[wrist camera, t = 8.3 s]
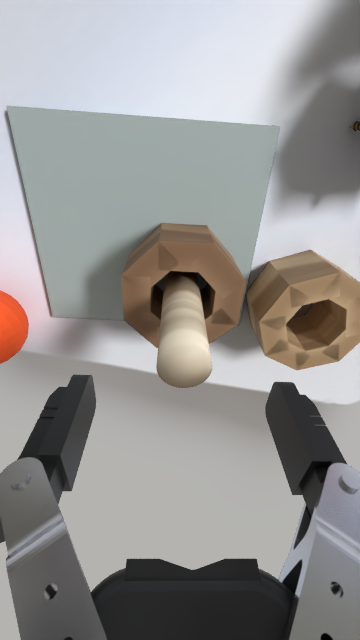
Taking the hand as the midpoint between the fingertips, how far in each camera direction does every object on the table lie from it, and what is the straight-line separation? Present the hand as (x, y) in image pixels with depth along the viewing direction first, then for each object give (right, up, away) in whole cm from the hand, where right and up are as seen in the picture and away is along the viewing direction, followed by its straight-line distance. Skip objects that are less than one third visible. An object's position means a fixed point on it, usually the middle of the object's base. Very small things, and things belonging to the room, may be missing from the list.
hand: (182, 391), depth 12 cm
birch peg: (0, +7, +12) cm, 14 cm away
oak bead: (+11, +5, +14) cm, 18 cm away
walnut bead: (0, +7, +12) cm, 14 cm away
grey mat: (-3, +10, +11) cm, 15 cm away
